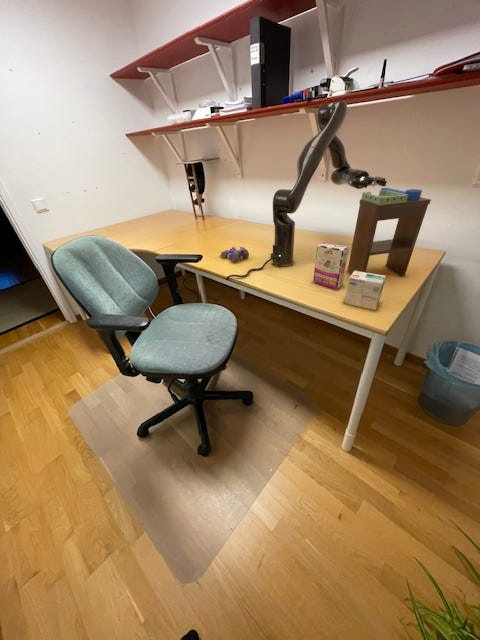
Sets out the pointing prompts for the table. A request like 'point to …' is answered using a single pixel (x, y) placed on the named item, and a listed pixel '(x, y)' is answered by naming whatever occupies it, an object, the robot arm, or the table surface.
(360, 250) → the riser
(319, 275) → the candy bar box
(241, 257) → the purple lumpy cluster
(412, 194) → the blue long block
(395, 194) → the green shallow tray
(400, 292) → the table surface
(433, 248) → the table surface
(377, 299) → the light bulb box
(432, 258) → the table surface
